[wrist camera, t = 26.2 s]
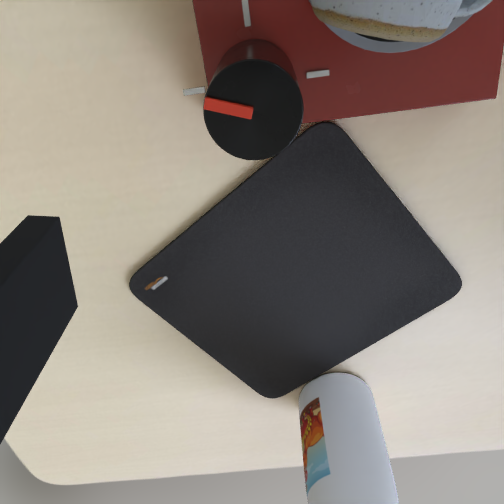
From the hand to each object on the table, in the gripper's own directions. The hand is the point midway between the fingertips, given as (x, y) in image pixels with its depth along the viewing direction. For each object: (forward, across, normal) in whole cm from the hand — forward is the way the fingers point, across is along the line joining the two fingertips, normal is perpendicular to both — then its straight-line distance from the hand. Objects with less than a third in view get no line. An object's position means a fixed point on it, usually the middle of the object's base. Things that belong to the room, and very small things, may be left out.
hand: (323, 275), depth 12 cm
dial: (+20, -2, +1) cm, 21 cm away
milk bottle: (+24, +7, -31) cm, 40 cm away
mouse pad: (+24, +2, -17) cm, 29 cm away
